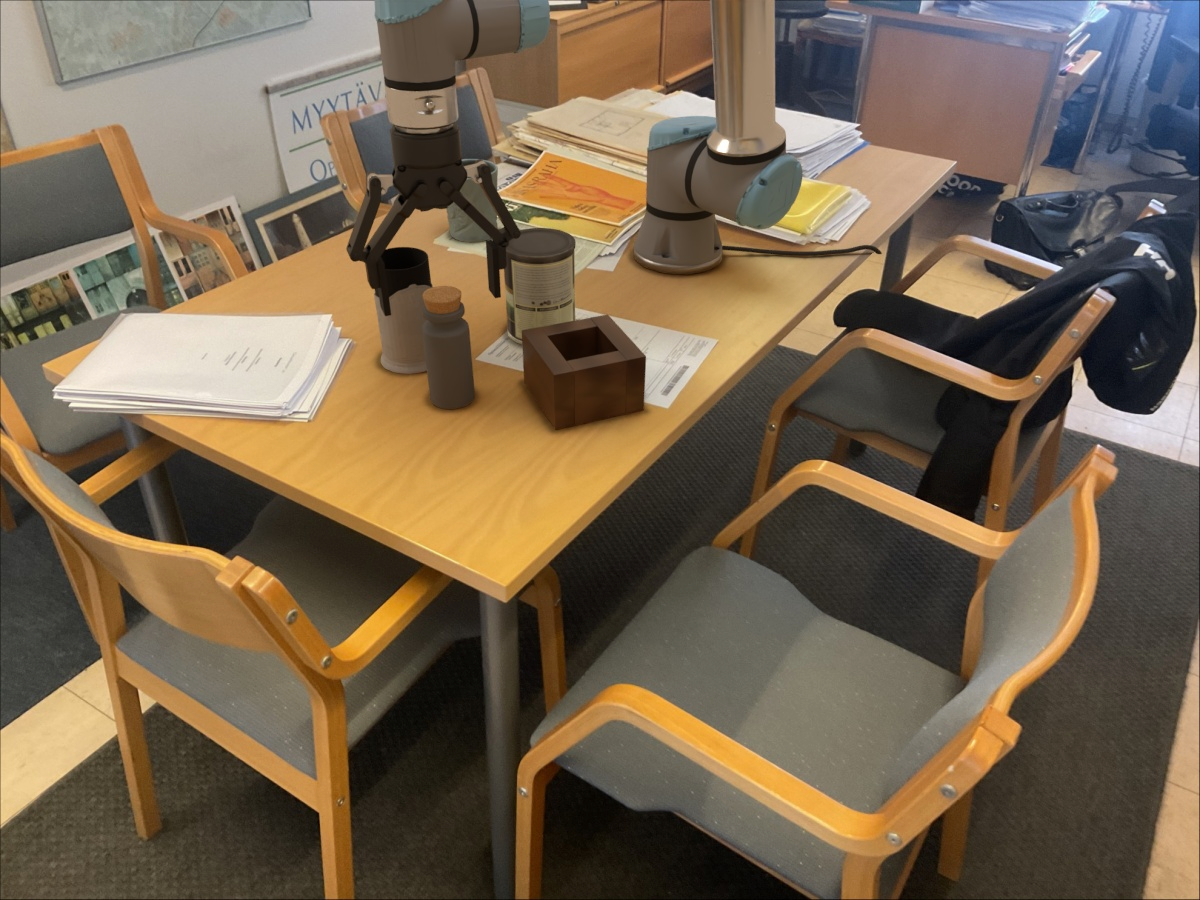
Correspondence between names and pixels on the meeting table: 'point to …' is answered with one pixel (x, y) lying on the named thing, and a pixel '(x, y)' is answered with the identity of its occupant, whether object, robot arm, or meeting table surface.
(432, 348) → the bottle
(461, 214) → the grey cup
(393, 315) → the glass holder
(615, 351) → the bottle stand
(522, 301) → the coffee can
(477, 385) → the meeting table surface
